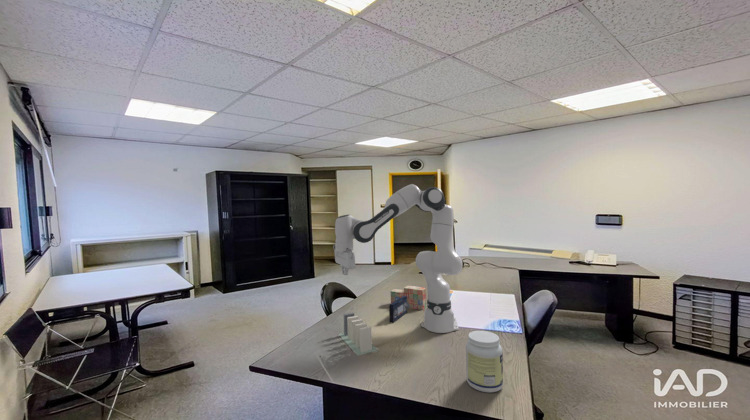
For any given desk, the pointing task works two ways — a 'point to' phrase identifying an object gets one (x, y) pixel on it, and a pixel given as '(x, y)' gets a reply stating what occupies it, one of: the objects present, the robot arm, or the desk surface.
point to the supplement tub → (484, 361)
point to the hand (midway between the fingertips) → (345, 274)
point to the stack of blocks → (411, 296)
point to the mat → (353, 346)
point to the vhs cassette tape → (397, 309)
